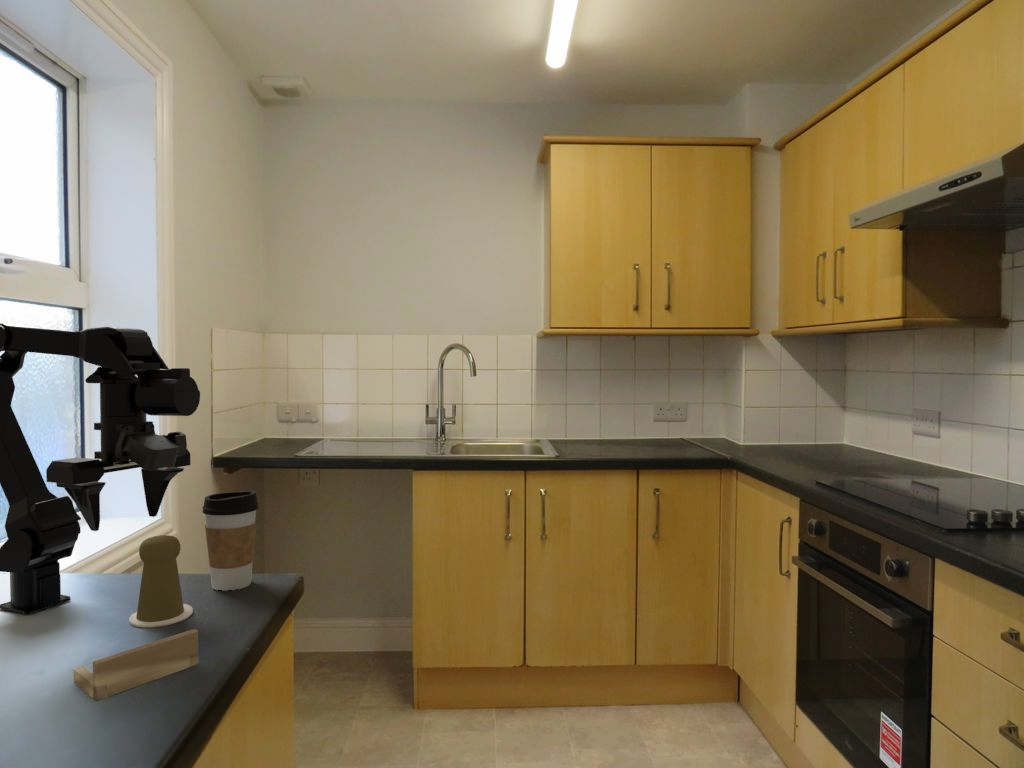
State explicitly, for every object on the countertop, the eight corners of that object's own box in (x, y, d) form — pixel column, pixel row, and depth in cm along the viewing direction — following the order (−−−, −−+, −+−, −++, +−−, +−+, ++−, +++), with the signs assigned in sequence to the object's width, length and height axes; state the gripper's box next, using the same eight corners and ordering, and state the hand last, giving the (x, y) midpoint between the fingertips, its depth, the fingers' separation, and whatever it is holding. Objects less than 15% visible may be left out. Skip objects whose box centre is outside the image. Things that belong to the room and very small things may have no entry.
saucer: (115, 622, 92) (115, 619, 92) (165, 602, 99) (165, 600, 99) (157, 631, 89) (157, 628, 89) (205, 610, 96) (205, 607, 96)
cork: (133, 624, 90) (132, 544, 90) (138, 609, 96) (138, 533, 95) (183, 618, 92) (182, 540, 92) (185, 603, 98) (184, 530, 98)
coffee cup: (239, 595, 103) (238, 499, 102) (191, 591, 104) (190, 497, 104) (269, 578, 111) (268, 489, 110) (224, 574, 112) (223, 487, 112)
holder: (73, 682, 75) (73, 647, 75) (172, 649, 83) (172, 618, 83) (97, 700, 71) (96, 664, 71) (198, 663, 79) (198, 631, 79)
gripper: (102, 422, 83) (104, 545, 84) (217, 412, 101) (218, 514, 101) (42, 419, 87) (44, 536, 88) (163, 410, 105) (164, 508, 105)
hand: (125, 523), depth 95 cm, fingers open, 9 cm apart
